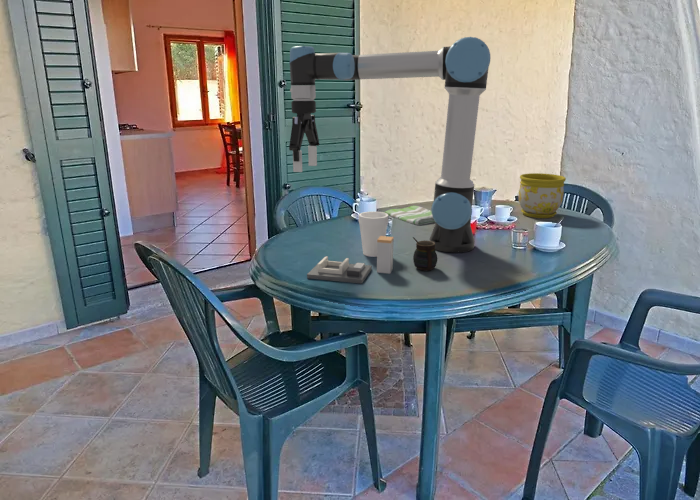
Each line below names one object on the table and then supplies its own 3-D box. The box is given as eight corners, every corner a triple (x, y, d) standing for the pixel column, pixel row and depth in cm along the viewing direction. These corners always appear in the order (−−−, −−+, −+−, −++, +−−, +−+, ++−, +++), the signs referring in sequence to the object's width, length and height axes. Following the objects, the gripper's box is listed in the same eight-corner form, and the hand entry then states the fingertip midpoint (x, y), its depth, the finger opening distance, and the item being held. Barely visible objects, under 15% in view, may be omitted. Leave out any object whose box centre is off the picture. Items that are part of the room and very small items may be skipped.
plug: (392, 269, 152) (393, 236, 149) (390, 273, 148) (391, 240, 145) (379, 267, 153) (380, 235, 150) (376, 272, 149) (377, 239, 146)
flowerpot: (509, 210, 225) (513, 173, 220) (548, 209, 227) (552, 172, 222) (527, 220, 208) (531, 180, 203) (569, 219, 210) (574, 179, 205)
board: (371, 269, 151) (371, 257, 150) (361, 283, 140) (361, 270, 139) (320, 264, 156) (320, 253, 154) (307, 278, 144) (306, 265, 143)
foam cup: (367, 259, 160) (367, 219, 156) (353, 251, 168) (353, 213, 164) (393, 255, 164) (394, 216, 160) (378, 248, 172) (379, 210, 168)
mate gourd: (441, 271, 150) (443, 238, 147) (417, 274, 148) (418, 241, 145) (431, 263, 157) (432, 232, 154) (408, 266, 155) (408, 234, 152)
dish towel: (416, 226, 201) (416, 218, 200) (383, 215, 220) (383, 207, 219) (449, 221, 209) (450, 212, 208) (415, 210, 228) (415, 202, 227)
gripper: (306, 99, 170) (308, 163, 177) (275, 100, 147) (279, 174, 154) (327, 99, 168) (328, 163, 175) (300, 100, 145) (302, 175, 152)
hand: (305, 168), depth 164 cm, fingers open, 13 cm apart
